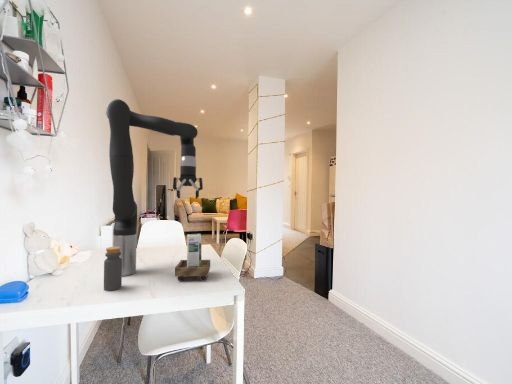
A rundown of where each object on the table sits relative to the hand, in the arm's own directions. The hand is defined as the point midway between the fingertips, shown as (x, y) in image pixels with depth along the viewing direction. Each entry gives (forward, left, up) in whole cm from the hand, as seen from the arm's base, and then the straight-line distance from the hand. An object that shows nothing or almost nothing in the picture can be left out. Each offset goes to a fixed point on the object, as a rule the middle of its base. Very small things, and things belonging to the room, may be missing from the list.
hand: (187, 198), depth 129 cm
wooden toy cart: (+6, -18, -33) cm, 38 cm away
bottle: (-22, -30, -33) cm, 50 cm away
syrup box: (+6, -18, -30) cm, 35 cm away
